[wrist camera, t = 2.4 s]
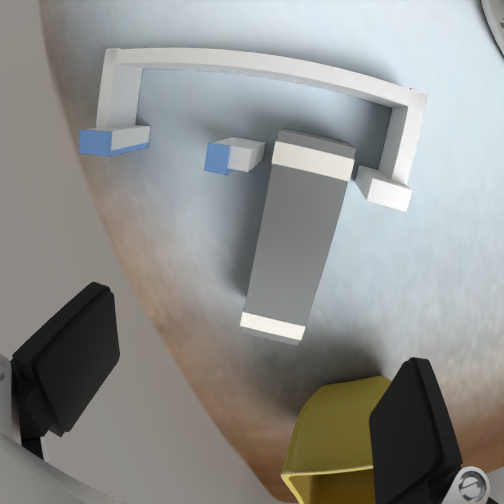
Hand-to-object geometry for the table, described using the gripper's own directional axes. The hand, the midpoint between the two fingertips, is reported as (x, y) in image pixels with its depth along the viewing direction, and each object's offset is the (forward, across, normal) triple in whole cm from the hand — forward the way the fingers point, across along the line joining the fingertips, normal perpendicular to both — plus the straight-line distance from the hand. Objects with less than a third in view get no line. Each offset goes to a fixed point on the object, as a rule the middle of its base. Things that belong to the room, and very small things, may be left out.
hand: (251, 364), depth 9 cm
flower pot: (+11, -9, +12) cm, 19 cm away
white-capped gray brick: (+10, -1, -1) cm, 10 cm away
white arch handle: (+10, +3, -7) cm, 13 cm away
